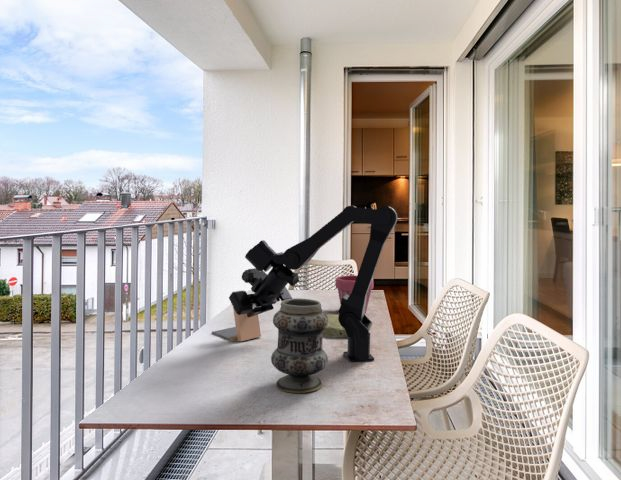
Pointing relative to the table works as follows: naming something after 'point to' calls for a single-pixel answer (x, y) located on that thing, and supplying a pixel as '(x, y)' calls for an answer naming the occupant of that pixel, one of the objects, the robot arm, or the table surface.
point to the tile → (246, 326)
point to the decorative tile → (334, 327)
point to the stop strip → (233, 338)
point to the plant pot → (350, 287)
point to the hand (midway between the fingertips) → (248, 316)
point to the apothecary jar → (299, 345)
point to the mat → (226, 333)
